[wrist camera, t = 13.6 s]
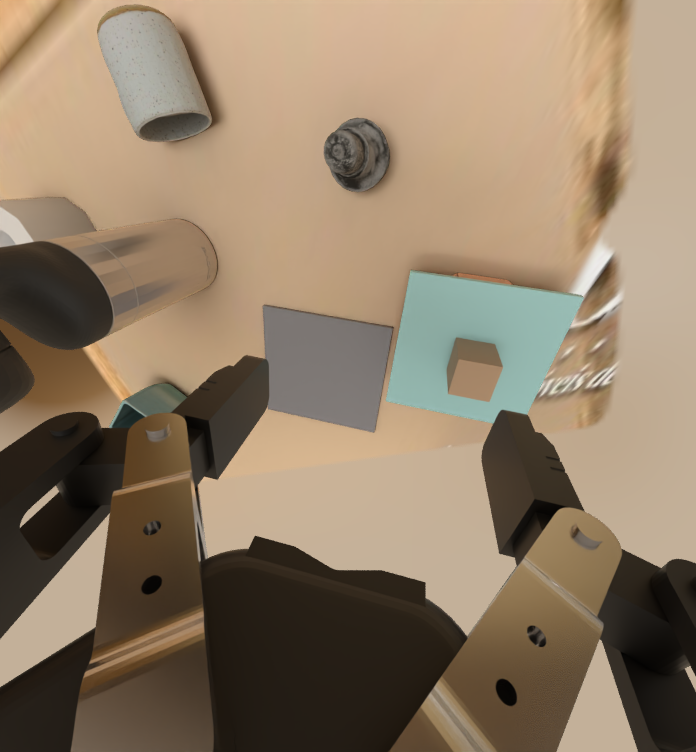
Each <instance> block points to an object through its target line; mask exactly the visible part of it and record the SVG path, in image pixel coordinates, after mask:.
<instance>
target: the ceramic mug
mask: <svg viewBox="0 0 696 752" xmlns="http://www.w3.org/2000/svg"><path fill="white" fill-rule="evenodd" d="M97 33H98V40H99V43H100V47H101V50H102V54H103V57H104V59H105V62H106V64H107V67H108V69H109V71H110V73H111V76H112V78H113V80H114V82H115V85H116V87H117V90H118V93H119V97H120V101H121V103H122V106H123V109H124V111H125V114H126V116H127V118H128V120H129V121H130V123H131V125H132V127H133V129H134V131H135V133H136V135H137V136H138V137H139V138H141V139H143V140H147V141H153V142H167V141H175V140H181V139H185V138H188V137H190V136H194V135H197V134H199V133H200V132H202V131H204V130H205V129H207V128H208V127H209V126H210V124H211V123H212V117H211V113H210V111H209V108H208V106H207V103H206V101H205V98H204V95H203V93H202V90H201V88H200V85H199V82H198V80H197V77H196V75H195V72H194V70H193V67H192V65H191V62H190V59H189V56H188V53H187V51H186V48H185V46H184V43H183V41H182V39H181V37H180V35H179V33H178V31H177V29H176V28H175V26H174V24H173V23H172V21H171V20H170V19H169V18H168V17H167V16H166V15H165V14H163V13H162V12H160V11H158V10H156V9H154V8H151V7H149V6H143V5H125V6H120V7H117V8H115V9H112V10H110V11H108V12H107V13H106V14H105V15H104V16H103V17H102V18H101V20H100V22H99V24H98V29H97Z"/></svg>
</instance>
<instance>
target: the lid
mask: <svg viewBox="0 0 696 752" xmlns="http://www.w3.org/2000/svg"><path fill="white" fill-rule="evenodd" d="M583 299H584V297H583V296H581V295H578V294H571V293H564V292H557V291H551V290H544V289H537V288H530V287H524V286H517V285H510V284H503V283H497V282H490V281H483V280H476V279H470V278H463V277H456V276H449V275H443V274H436V273H429V272H422V271H416V270H411V271H410V276H409V281H408V286H407V292H406V297H405V302H404V308H403V313H402V318H401V323H400V329H399V334H398V339H397V345H396V350H395V355H394V360H393V366H392V371H391V376H390V382H389V387H388V392H387V398H386V401H387V402H392V403H397V404H401V405H406V406H411V407H416V408H421V409H426V410H430V411H435V412H440V413H445V414H450V415H455V416H460V417H464V418H469V419H474V420H479V421H484V422H489V423H493V424H494V421H495V419H496V417H497V415H498V413H499V412H500V411H501V410H508V411H512V412H517V413H522V414H526V415H527V413H528V411H529V409H530V407H531V405H532V403H533V401H534V399H535V397H536V395H537V393H538V391H539V389H540V387H541V385H542V382H543V380H544V378H545V376H546V374H547V372H548V370H549V368H550V366H551V364H552V362H553V360H554V358H555V356H556V354H557V352H558V350H559V348H560V346H561V344H562V342H563V340H564V337H565V335H566V333H567V331H568V329H569V327H570V325H571V323H572V321H573V319H574V317H575V315H576V313H577V311H578V309H579V307H580V305H581V303H582V301H583Z"/></svg>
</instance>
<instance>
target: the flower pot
mask: <svg viewBox="0 0 696 752" xmlns="http://www.w3.org/2000/svg"><path fill="white" fill-rule="evenodd" d="M186 398H187V397H186V396H185V395H184V394H182V393H181V392H180V391H178V390H177V389H176V388H174V387H173V386H172V385H170V384H156V385H152V386H149V387H147V388H145V389H143V390H141V391H139V392H137V393H135V394H134V395H132V396H130V397H128V398H126V399H125V400H123V401H122V402H121V404H120V407H119V409H118V411H117V413H116V415H115V417H114V419H113V420H112V422H111V424H110V426H109V427H110V428H131V426H132V425H133V424H135V423H136V422H137V421H139V420H140V419H142V418H144V417H147V416H149V415H152V414H157V413H171V412H172V411H173V410H174V409H175V408H176V407H177V406H178V405H179V404H181V403H182V402H183V401H184V400H185V399H186Z"/></svg>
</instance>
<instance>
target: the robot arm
mask: <svg viewBox="0 0 696 752" xmlns="http://www.w3.org/2000/svg"><path fill="white" fill-rule="evenodd" d="M216 272H217V259H216V254H215V251H214V249H213V246H212V245H211V243H210V241H209V239H208V238H207V237H206V235H205V234H204V233H203V232H202V231H201V230H200V229H199V228H198V227H196V226H195V225H193V224H192V223H190V222H188V221H185V220H182V219H170V220H163V221H157V222H150V223H144V224H138V225H132V226H126V227H119V228H113V229H107V230H101V231H95V232H89V233H83V234H77V235H71V236H66V237H60V238H54V239H48V240H41V241H35V242H30V243H24V244H18V245H12V246H5V247H0V318H1V319H3V320H4V321H6V322H8V323H10V324H11V325H13V326H14V327H15V328H17V329H19V330H20V331H22V332H23V333H25V334H26V335H28V336H29V337H31V338H33V339H35V340H36V341H38V342H40V343H43V344H45V345H47V346H50V347H53V348H57V349H65V350H74V349H79V348H83V347H85V346H88V345H90V344H92V343H94V342H96V341H98V340H100V339H102V338H104V337H106V336H108V335H110V334H112V333H114V332H116V331H118V330H120V329H122V328H124V327H126V326H128V325H130V324H132V323H134V322H137V321H139V320H141V319H143V318H145V317H147V316H149V315H151V314H153V313H155V312H157V311H159V310H161V309H163V308H165V307H167V306H170V305H172V304H174V303H176V302H178V301H180V300H182V299H184V298H186V297H188V296H190V295H192V294H194V293H196V292H199V291H201V290H203V289H205V288H206V287H208V286H209V285H210V284H211V283H212V282H213V281H214V278H215V276H216ZM10 344H11V343H10V342H9V341H8V339H7V338H6V337H5V336H4V334H3V333H2V332H1V331H0V413H2V412H3V411H5V410H6V409H8V408H10V407H11V406H13V405H14V404H16V403H17V402H18V401H19V400H21V399H22V398H23V397H24V396H25V395H26V394H28V392H29V391H30V390H31V389H32V387H33V385H34V375H33V374H32V371H31V370H30V368H29V366H28V365H27V363H26V362H25V361H24V360H23V358H22V357H21V356H20V355H19V353H18V352H17V351H16V349H15V348H14V347H13V346H10ZM268 402H269V363H268V360H267V359H263V358H258V357H253V356H248V355H245V356H244V357H243V358H242V359H241V360H240V361H239V362H238V363H237V364H236V365H235V366H234V367H233V366H227V367H225V368H222V369H220V370H218V371H216V372H214V373H213V374H212V375H211V376H210V377H209V378H208V379H207V380H206V382H204V383H202V384H201V385H200V386H199V388H198V389H196V390H195V391H194V392H193V393H192V394H190V395H189V396H188V397H187V398H186V399H185V400H184V401H183V402H182V403H181V404H179V405H178V406H177V407H176V408H175V409H174V410H173V411H172V412H171V413H157V414H152V415H149V416H147V417H144V418H142V419H140V420H139V421H137V422H136V423H135V424H133V425H132V426H131V428H101V426H100V423H99V420H98V418H97V417H96V416H95V415H93V414H91V413H87V412H72V413H66V414H62V415H59V416H56V417H53V418H51V419H49V420H47V421H45V422H43V423H42V424H40V425H39V426H37V427H36V428H34V429H33V430H31V431H30V432H28V433H27V434H25V435H24V436H23V437H21V438H20V439H18V440H17V441H15V442H14V443H12V444H11V445H9V446H8V447H7V448H5V449H4V450H2V451H1V452H0V638H1V637H2V636H3V635H4V634H5V633H6V631H7V630H8V629H9V628H10V627H11V626H12V625H13V624H14V622H15V621H16V620H17V619H18V618H19V617H20V616H21V614H22V613H23V612H24V611H25V610H26V608H27V607H28V606H29V605H30V604H31V603H32V602H33V600H34V599H35V598H36V597H37V596H38V595H39V593H41V591H42V590H43V589H44V588H45V587H46V586H47V584H48V583H49V582H50V581H51V580H52V578H54V576H55V575H56V574H57V573H58V572H59V571H60V569H61V568H62V567H63V566H64V565H65V564H66V562H67V561H68V560H69V559H70V558H71V557H72V556H73V555H74V553H75V552H76V551H77V550H78V549H79V548H80V546H81V545H82V544H83V543H84V542H85V540H87V538H88V537H89V536H90V535H91V534H92V532H93V531H94V530H95V529H96V528H97V527H98V526H99V524H100V523H101V522H102V521H103V520H104V519H105V518H106V517H107V515H108V514H109V513H110V516H109V525H108V532H107V540H106V548H105V556H104V565H103V573H102V580H101V589H100V596H99V605H98V612H97V620H96V627H95V628H94V629H92V630H91V631H89V632H87V633H86V634H84V635H83V636H81V637H79V638H78V639H76V640H75V641H73V642H72V643H70V644H68V645H67V646H65V647H64V648H62V649H60V650H59V651H57V652H56V653H54V654H52V655H51V656H49V657H48V658H46V659H44V660H43V661H41V662H40V663H38V664H37V665H35V666H33V667H32V668H30V669H28V670H27V671H25V672H24V673H22V674H21V675H19V676H17V677H16V678H14V679H13V680H11V681H9V682H8V683H6V684H5V685H3V686H1V687H0V752H556V751H557V749H558V746H559V743H560V741H561V738H562V736H563V733H564V730H565V728H566V725H567V723H568V720H569V717H570V715H571V712H572V710H573V707H574V704H575V702H576V699H577V697H578V694H579V691H580V689H581V686H582V683H583V681H584V678H585V676H586V673H587V670H588V667H589V665H590V663H591V660H592V657H593V655H594V652H595V650H596V647H597V644H598V642H599V639H600V640H602V643H603V645H604V649H605V652H606V654H607V658H608V661H609V664H610V667H611V670H612V673H613V676H614V679H615V682H616V685H617V688H618V691H619V694H620V698H621V700H622V704H623V707H624V709H625V713H626V716H627V719H628V722H629V725H630V728H631V731H632V734H633V737H634V740H635V743H636V746H637V749H638V752H696V692H695V689H694V687H693V685H692V683H691V681H690V679H689V677H688V675H687V673H686V671H685V668H687V667H689V666H691V668H692V670H693V672H694V673H695V676H696V563H693V562H690V561H687V560H682V559H674V560H671V561H669V562H668V563H667V564H666V565H664V566H663V567H662V568H659V567H658V566H655V565H653V564H651V563H649V562H647V561H645V560H643V559H641V558H639V557H637V556H635V555H633V554H631V553H629V552H627V551H625V550H623V549H621V546H620V543H619V541H618V540H617V538H616V536H615V535H614V534H613V533H612V531H611V530H610V529H609V528H608V527H607V526H606V525H605V524H603V523H602V522H601V521H600V520H598V519H597V518H595V517H594V516H592V515H590V514H588V513H586V512H585V511H584V509H583V507H582V505H581V503H580V501H579V498H578V496H577V495H576V492H575V490H574V488H573V486H572V484H571V482H570V479H569V477H568V475H567V474H566V473H565V469H564V467H563V465H562V462H560V458H559V456H558V454H557V452H556V450H555V448H554V446H553V445H552V444H551V443H550V442H549V441H548V440H547V439H546V437H545V436H544V435H543V434H542V433H537V432H535V430H534V428H533V426H532V423H531V421H530V419H529V416H528V415H526V414H522V413H517V412H512V411H508V410H501V411H500V412H499V413H498V415H497V417H496V419H495V421H494V424H493V426H492V428H491V430H490V432H489V435H488V437H487V439H486V441H485V443H484V446H483V450H482V466H483V471H484V476H485V482H486V487H487V492H488V497H489V501H490V508H491V513H492V518H493V523H494V528H495V533H496V538H497V544H498V549H499V553H500V554H503V555H507V556H511V557H515V560H516V564H517V567H516V568H515V570H514V571H513V572H512V574H511V575H510V576H509V578H508V579H507V581H506V582H505V584H504V585H503V586H502V588H501V589H500V591H499V592H498V593H497V595H496V596H495V598H494V599H493V600H492V602H491V603H490V605H489V606H488V608H487V609H486V611H485V612H484V613H483V615H482V616H481V618H480V619H479V620H478V622H477V623H476V624H475V626H474V627H473V629H472V630H471V632H470V633H469V634H468V636H466V635H465V633H464V632H463V631H462V629H461V628H460V627H459V626H458V625H457V624H456V623H455V621H453V619H452V618H451V617H450V616H448V615H447V614H446V613H445V612H444V611H443V610H442V609H441V608H439V607H438V606H437V605H435V604H434V603H433V602H431V601H430V600H428V599H426V598H425V582H422V581H418V580H415V579H410V578H407V577H404V576H400V575H396V574H393V573H389V572H385V571H382V570H378V571H377V570H371V571H369V570H367V571H365V570H364V571H363V570H362V571H361V570H348V571H347V570H334V569H332V568H330V567H328V566H327V565H325V564H323V563H322V562H320V561H318V560H317V559H315V558H313V557H311V556H310V555H308V554H306V553H305V552H303V551H301V550H300V549H298V548H296V547H294V546H291V545H287V544H283V543H279V542H275V541H272V540H269V539H265V538H261V537H257V536H255V537H254V539H253V541H252V543H251V545H250V547H249V549H240V550H232V551H227V552H224V553H220V554H217V555H215V556H212V557H209V558H208V555H207V549H206V543H205V535H204V527H203V519H202V511H201V502H200V494H199V488H198V484H199V483H200V481H201V480H202V479H203V477H204V476H205V477H209V478H213V479H217V480H218V478H219V477H220V475H221V474H222V472H223V471H224V470H225V468H226V467H227V465H228V464H229V462H230V461H231V459H232V458H233V457H234V455H235V454H236V452H237V451H238V449H239V448H240V447H241V445H242V444H243V442H244V441H245V439H246V438H247V436H248V435H249V434H250V432H251V431H252V429H253V428H254V426H255V425H256V424H257V422H258V421H259V419H260V418H261V416H262V415H263V413H264V412H265V410H266V408H267V405H268ZM55 485H56V486H57V488H58V490H59V493H58V494H57V495H55V496H54V497H53V498H52V499H51V500H50V501H49V502H48V503H47V504H46V505H45V506H43V508H41V509H40V510H39V511H38V512H37V513H36V514H35V515H34V516H33V517H32V518H30V519H29V520H28V521H27V522H26V523H25V524H24V525H23V526H22V527H21V528H20V523H21V520H22V518H23V516H24V515H25V513H26V512H27V511H28V510H29V509H30V508H31V507H32V506H33V505H34V504H35V503H36V502H37V501H39V500H40V499H41V498H42V497H43V496H44V495H45V494H46V493H48V491H50V490H51V489H52V488H53V487H54V486H55Z"/></svg>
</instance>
